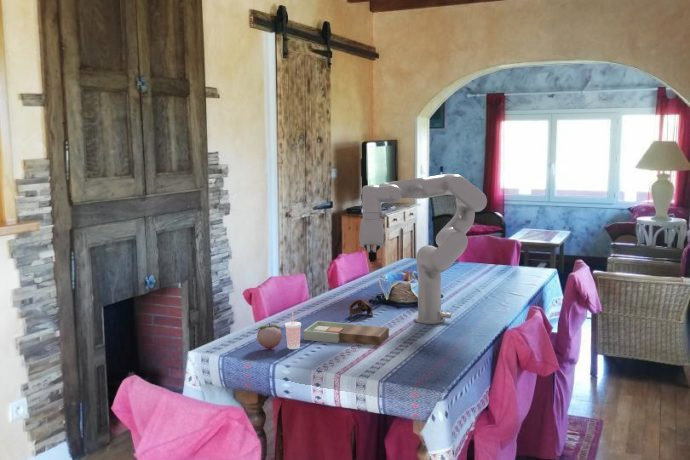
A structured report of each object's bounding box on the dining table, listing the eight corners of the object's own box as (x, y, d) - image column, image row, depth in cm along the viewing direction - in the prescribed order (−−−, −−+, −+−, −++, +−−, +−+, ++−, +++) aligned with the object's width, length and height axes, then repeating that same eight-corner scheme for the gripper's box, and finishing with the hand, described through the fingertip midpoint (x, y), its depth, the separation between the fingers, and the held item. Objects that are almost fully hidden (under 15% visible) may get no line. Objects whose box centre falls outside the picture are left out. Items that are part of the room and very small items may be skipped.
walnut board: (388, 336, 263) (388, 327, 262) (379, 345, 252) (379, 336, 251) (349, 333, 268) (349, 324, 268) (339, 341, 257) (339, 332, 256)
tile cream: (318, 325, 268) (318, 331, 269) (313, 329, 264) (313, 335, 264) (330, 326, 267) (330, 332, 267) (325, 330, 262) (325, 336, 262)
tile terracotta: (343, 334, 265) (343, 328, 265) (339, 337, 260) (339, 331, 260) (331, 333, 267) (331, 327, 266) (327, 336, 262) (327, 330, 262)
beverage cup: (286, 344, 255) (285, 308, 253) (302, 344, 254) (301, 308, 252) (284, 349, 248) (283, 312, 247) (301, 349, 248) (300, 312, 246)
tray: (350, 332, 269) (350, 323, 269) (337, 342, 256) (337, 333, 255) (317, 329, 274) (317, 320, 274) (303, 339, 261) (303, 330, 260)
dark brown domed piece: (375, 319, 289) (366, 304, 286) (355, 328, 291) (346, 313, 288) (374, 305, 300) (365, 291, 297) (355, 314, 302) (346, 300, 299)
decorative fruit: (261, 354, 244) (260, 327, 242) (255, 348, 251) (254, 321, 250) (286, 350, 247) (285, 324, 246) (279, 344, 255) (278, 318, 253)
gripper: (392, 215, 272) (393, 260, 274) (357, 214, 277) (358, 259, 279) (387, 217, 265) (388, 264, 267) (351, 217, 270) (352, 262, 272)
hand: (372, 261), depth 273 cm, fingers closed
